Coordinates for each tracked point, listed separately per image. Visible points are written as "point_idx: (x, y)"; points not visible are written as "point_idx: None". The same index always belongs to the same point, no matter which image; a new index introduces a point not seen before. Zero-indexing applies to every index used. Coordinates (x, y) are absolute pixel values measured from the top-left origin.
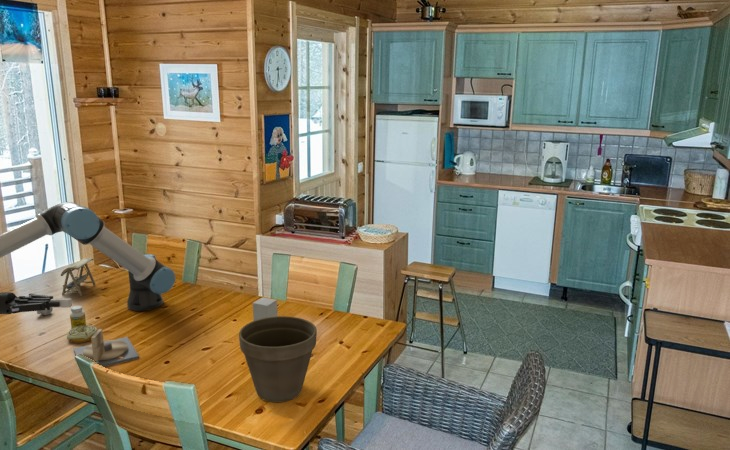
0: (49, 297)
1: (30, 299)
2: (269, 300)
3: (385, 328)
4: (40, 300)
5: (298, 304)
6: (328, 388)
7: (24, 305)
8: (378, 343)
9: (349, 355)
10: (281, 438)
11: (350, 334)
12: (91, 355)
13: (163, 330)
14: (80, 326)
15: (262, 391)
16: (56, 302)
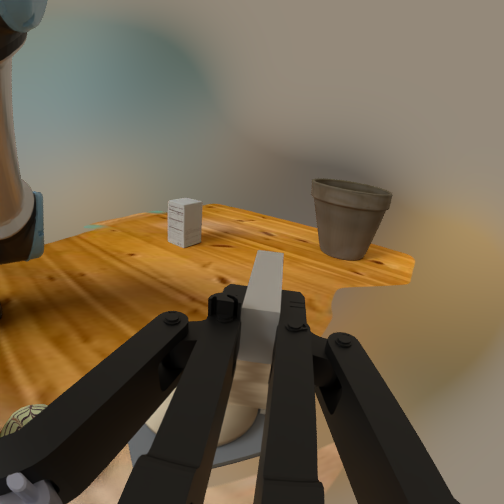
0: (183, 330)
1: (195, 482)
2: (184, 199)
3: (220, 207)
4: (224, 392)
5: (125, 222)
6: None
7: (428, 459)
8: (249, 212)
9: (270, 222)
10: (409, 258)
11: (225, 216)
12: (235, 420)
13: (111, 314)
14: (11, 432)
15: (367, 248)
16: (293, 298)
